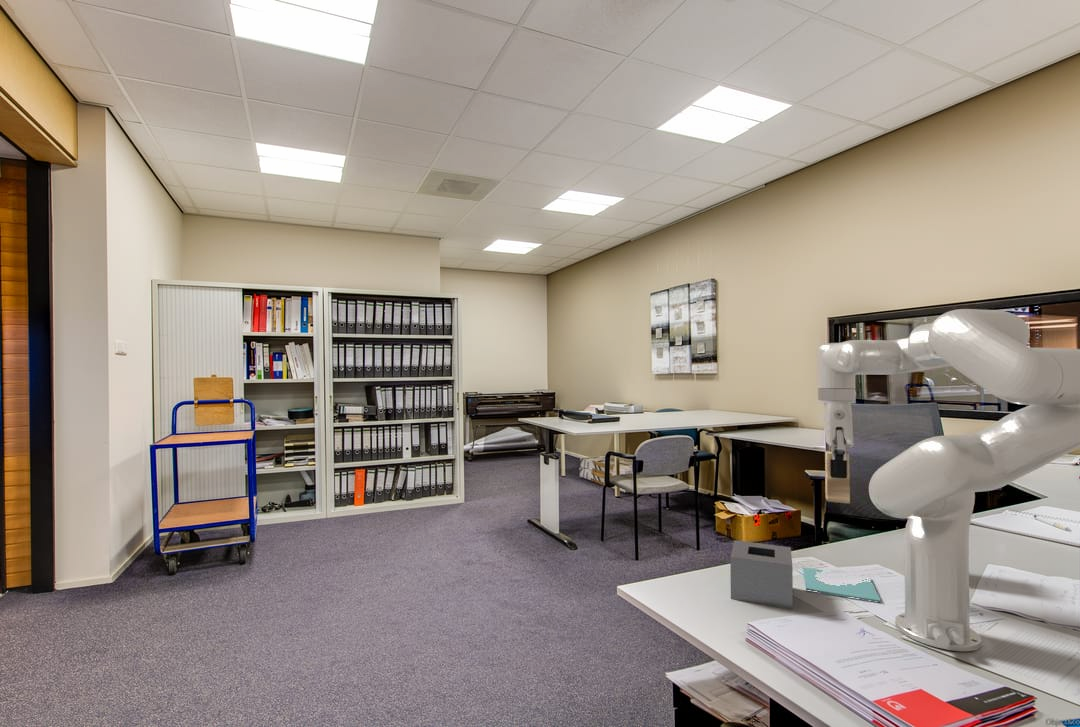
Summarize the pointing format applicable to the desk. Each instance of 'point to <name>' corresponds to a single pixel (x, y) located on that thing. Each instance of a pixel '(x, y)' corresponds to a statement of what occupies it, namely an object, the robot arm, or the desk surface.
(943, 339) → the robot arm
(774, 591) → the grey block with hole
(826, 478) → the oak plug
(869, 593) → the teal mat
